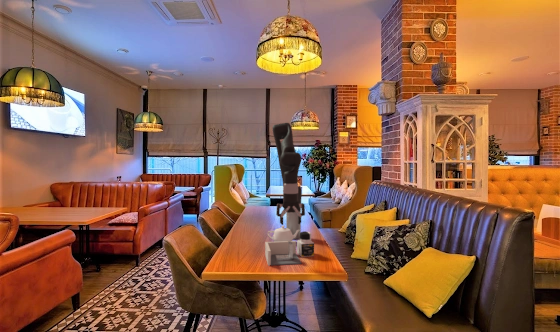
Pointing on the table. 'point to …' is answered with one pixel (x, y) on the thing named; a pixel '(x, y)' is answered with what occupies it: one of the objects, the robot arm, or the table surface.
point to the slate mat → (288, 262)
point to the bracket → (286, 257)
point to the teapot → (282, 234)
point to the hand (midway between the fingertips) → (290, 224)
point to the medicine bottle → (305, 245)
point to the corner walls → (277, 249)
